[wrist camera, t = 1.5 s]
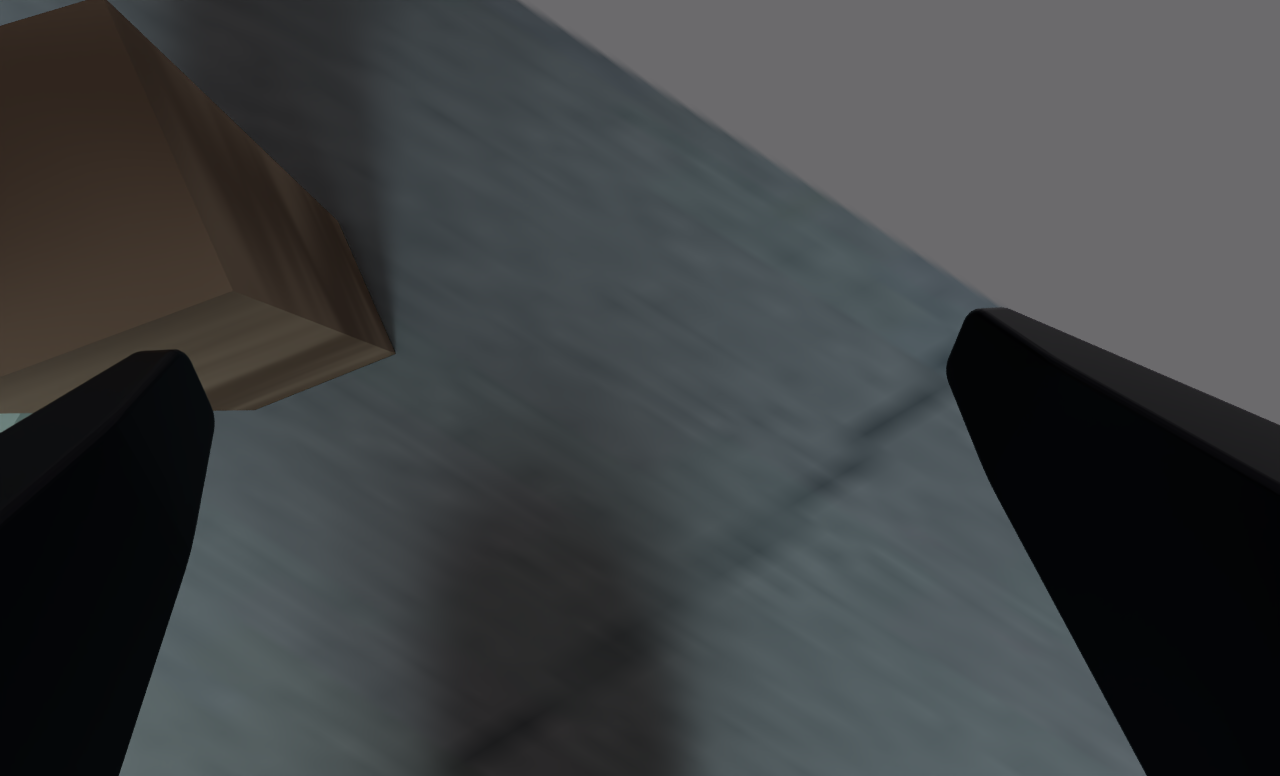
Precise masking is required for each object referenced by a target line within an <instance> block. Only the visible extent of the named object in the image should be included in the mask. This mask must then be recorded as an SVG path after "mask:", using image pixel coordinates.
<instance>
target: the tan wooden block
mask: <svg viewBox="0 0 1280 776" xmlns="http://www.w3.org/2000/svg"><path fill="white" fill-rule="evenodd" d="M167 349H178V350H180V351H182V352H184V353H185V354H186V355H187V356H188V357H189V359H190V360H191V362H192V364H193V366H194V369H195V371H196V373H197V375H198V377H199V380H200V382H201V384H202V386H203V388H204V391H205V393H206V395H207V397H208V400H209V402H210V404H211V406H212V409H213V411H222V410H256V409H258V408H261V407H263V406H266V405H269V404H271V403H274V402H276V401H279V400H281V399H284V398H286V397H289V396H291V395H294V394H296V393H299V392H301V391H304V390H306V389H309V388H311V387H314V386H316V385H319V384H321V383H324V382H326V381H329V380H331V379H334V378H336V377H339V376H341V375H344V374H346V373H349V372H351V371H354V370H356V369H359V368H361V367H364V366H366V365H369V364H371V363H374V362H376V361H379V360H381V359H384V358H386V357H389V356H391V355H394V354H396V353H395V351H394V349H393V346H392V344H391V342H390V339H389V337H388V335H387V333H386V330H385V328H384V326H383V323H382V321H381V319H380V317H379V314H378V312H377V310H376V307H375V305H374V303H373V300H372V298H371V296H370V294H369V291H368V289H367V287H366V284H365V282H364V280H363V278H362V275H361V273H360V271H359V268H358V266H357V264H356V261H355V259H354V257H353V255H352V252H351V250H350V248H349V245H348V243H347V241H346V239H345V236H344V234H343V232H342V229H341V227H340V225H339V223H338V221H337V220H336V219H335V218H334V217H333V216H332V215H331V214H330V213H329V212H328V211H327V210H326V209H324V208H323V207H322V206H321V205H320V204H319V203H318V202H317V201H316V200H315V199H314V198H313V197H312V196H311V195H310V194H309V193H308V192H307V191H306V190H305V189H304V188H303V187H302V186H300V185H299V184H298V183H297V182H296V181H295V180H294V179H293V178H292V177H291V176H290V175H289V174H288V173H287V172H286V171H285V170H284V169H283V168H282V167H281V166H280V165H279V164H278V163H276V162H275V161H274V160H273V159H272V158H271V157H270V156H269V155H268V154H267V153H266V152H265V151H264V150H263V149H262V148H261V147H260V146H259V145H258V144H257V143H256V142H255V141H253V140H252V139H251V138H250V137H249V136H248V135H247V134H246V133H245V132H244V131H243V130H242V129H241V128H240V127H239V126H238V125H237V124H236V123H235V122H234V121H233V120H232V119H231V118H229V117H228V116H227V115H226V114H225V113H224V112H223V111H222V110H221V109H220V108H219V107H218V106H217V105H216V104H215V103H214V102H213V101H212V100H211V99H210V98H209V97H208V96H206V95H205V94H204V93H203V92H202V91H201V90H200V89H199V88H198V87H197V86H196V85H195V84H194V83H193V82H192V81H191V80H190V79H189V78H188V77H187V76H186V75H185V74H184V73H182V72H181V71H180V70H179V69H178V68H177V67H176V66H175V65H174V64H173V63H172V62H171V61H170V60H169V59H168V58H167V57H166V56H165V55H164V54H163V53H162V52H161V51H160V50H158V49H157V48H156V47H155V46H154V45H153V44H152V43H151V42H150V41H149V40H148V39H147V38H146V37H145V36H144V35H143V34H142V33H141V32H140V31H139V30H138V29H137V28H135V27H134V26H133V25H132V24H131V23H130V22H129V21H128V20H127V19H126V18H125V17H124V16H123V15H122V14H121V13H120V12H119V11H118V10H117V9H116V8H115V7H114V6H113V5H111V4H110V3H109V2H108V1H107V0H85V1H82V2H79V3H75V4H72V5H69V6H65V7H62V8H59V9H55V10H52V11H49V12H45V13H42V14H39V15H35V16H32V17H28V18H25V19H22V20H18V21H15V22H12V23H8V24H5V25H2V26H0V414H7V413H34V412H36V411H38V410H39V409H41V408H43V407H44V406H46V405H48V404H49V403H51V402H53V401H54V400H56V399H58V398H59V397H61V396H63V395H64V394H66V393H68V392H69V391H71V390H73V389H74V388H76V387H78V386H79V385H81V384H83V383H84V382H86V381H88V380H89V379H91V378H93V377H94V376H96V375H98V374H100V373H101V372H103V371H105V370H106V369H108V368H110V367H111V366H113V365H115V364H116V363H118V362H120V361H121V360H123V359H125V358H126V357H128V356H130V355H131V354H133V353H135V352H139V351H147V350H167Z"/></svg>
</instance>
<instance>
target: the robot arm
mask: <svg viewBox="0 0 1280 776" xmlns="http://www.w3.org/2000/svg"><path fill="white" fill-rule="evenodd" d="M946 374H947V379H948V383H949V385H950V388H951V390H952V392H953V395H954V397H955V400H956V402H957V405H958V407H959V410H960V412H961V415H962V417H963V420H964V422H965V425H966V427H967V430H968V432H969V435H970V437H971V440H972V442H973V444H974V447H975V449H976V452H977V454H978V457H979V459H980V462H981V464H982V466H983V469H984V471H985V473H986V476H987V478H988V480H989V482H990V484H991V486H992V488H993V490H994V492H995V494H996V496H997V498H998V500H999V501H1000V503H1001V505H1002V507H1003V509H1004V511H1005V513H1006V515H1007V516H1008V518H1009V520H1010V522H1011V524H1012V526H1013V528H1014V529H1015V531H1016V533H1017V535H1018V537H1019V539H1020V541H1021V542H1022V544H1023V546H1024V548H1025V550H1026V552H1027V554H1028V556H1029V557H1030V559H1031V561H1032V563H1033V565H1034V567H1035V569H1036V570H1037V572H1038V574H1039V576H1040V578H1041V580H1042V582H1043V583H1044V585H1045V587H1046V589H1047V591H1048V593H1049V595H1050V596H1051V598H1052V600H1053V602H1054V604H1055V606H1056V608H1057V610H1058V611H1059V613H1060V615H1061V617H1062V619H1063V621H1064V623H1065V624H1066V626H1067V628H1068V630H1069V632H1070V634H1071V636H1072V637H1073V639H1074V641H1075V643H1076V645H1077V647H1078V649H1079V651H1080V652H1081V654H1082V656H1083V658H1084V660H1085V662H1086V664H1087V665H1088V667H1089V669H1090V671H1091V673H1092V675H1093V677H1094V678H1095V680H1096V682H1097V684H1098V686H1099V688H1100V690H1101V691H1102V693H1103V695H1104V697H1105V699H1106V701H1107V703H1108V705H1109V706H1110V708H1111V710H1112V712H1113V714H1114V716H1115V718H1116V719H1117V721H1118V723H1119V725H1120V727H1121V729H1122V731H1123V732H1124V734H1125V736H1126V738H1127V740H1128V742H1129V744H1130V746H1131V747H1132V749H1133V751H1134V753H1135V755H1136V757H1137V759H1138V760H1139V762H1140V764H1141V766H1142V768H1143V770H1144V772H1145V773H1146V775H1147V776H1280V425H1278V424H1276V423H1274V422H1271V421H1269V420H1267V419H1264V418H1262V417H1259V416H1257V415H1255V414H1253V413H1250V412H1248V411H1246V410H1243V409H1241V408H1239V407H1236V406H1234V405H1232V404H1229V403H1227V402H1225V401H1223V400H1220V399H1218V398H1216V397H1213V396H1211V395H1209V394H1206V393H1204V392H1202V391H1199V390H1197V389H1195V388H1192V387H1190V386H1187V385H1185V384H1183V383H1181V382H1178V381H1176V380H1174V379H1171V378H1169V377H1167V376H1164V375H1162V374H1160V373H1157V372H1155V371H1153V370H1150V369H1148V368H1146V367H1143V366H1141V365H1138V364H1136V363H1134V362H1132V361H1129V360H1127V359H1125V358H1122V357H1120V356H1118V355H1115V354H1113V353H1111V352H1109V351H1106V350H1104V349H1102V348H1099V347H1097V346H1095V345H1092V344H1090V343H1088V342H1085V341H1083V340H1081V339H1078V338H1076V337H1074V336H1071V335H1069V334H1067V333H1064V332H1062V331H1060V330H1057V329H1055V328H1053V327H1050V326H1048V325H1046V324H1043V323H1041V322H1038V321H1036V320H1034V319H1032V318H1029V317H1027V316H1025V315H1022V314H1020V313H1018V312H1016V311H1013V310H1011V309H1008V308H1002V307H999V308H981V309H975V310H973V311H971V312H970V313H969V314H968V315H967V316H966V318H965V320H964V322H963V325H962V327H961V329H960V332H959V334H958V337H957V339H956V341H955V344H954V346H953V349H952V351H951V353H950V356H949V358H948V361H947V366H946ZM214 422H215V421H214V413H213V409H212V406H211V404H210V402H209V400H208V397H207V395H206V393H205V391H204V388H203V386H202V384H201V382H200V380H199V377H198V375H197V373H196V371H195V369H194V366H193V364H192V362H191V360H190V359H189V357H188V356H187V355H186V354H185V353H184V352H182V351H180V350H178V349H167V350H147V351H139V352H135V353H133V354H131V355H130V356H128V357H126V358H125V359H123V360H121V361H120V362H118V363H116V364H115V365H113V366H111V367H110V368H108V369H106V370H105V371H103V372H101V373H100V374H98V375H96V376H94V377H93V378H91V379H89V380H88V381H86V382H84V383H83V384H81V385H79V386H78V387H76V388H74V389H73V390H71V391H69V392H68V393H66V394H64V395H63V396H61V397H59V398H58V399H56V400H54V401H53V402H51V403H49V404H48V405H46V406H44V407H43V408H41V409H39V410H38V411H36V412H34V413H33V414H31V415H29V416H27V417H26V418H24V419H22V420H21V421H19V422H17V423H16V424H14V425H12V426H11V427H9V428H7V429H6V430H4V431H2V432H1V433H0V776H119V773H120V770H121V767H122V764H123V761H124V758H125V755H126V752H127V749H128V746H129V742H130V739H131V736H132V733H133V730H134V727H135V724H136V721H137V718H138V715H139V712H140V709H141V705H142V702H143V699H144V696H145V693H146V690H147V687H148V684H149V681H150V678H151V675H152V672H153V668H154V665H155V662H156V659H157V656H158V653H159V650H160V647H161V644H162V641H163V638H164V635H165V632H166V628H167V625H168V622H169V619H170V616H171V613H172V610H173V607H174V604H175V601H176V598H177V595H178V591H179V588H180V585H181V582H182V579H183V576H184V573H185V570H186V566H187V563H188V559H189V556H190V552H191V548H192V544H193V539H194V535H195V530H196V525H197V519H198V514H199V509H200V503H201V498H202V492H203V487H204V482H205V476H206V471H207V466H208V460H209V455H210V449H211V444H212V439H213V433H214Z"/></svg>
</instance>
